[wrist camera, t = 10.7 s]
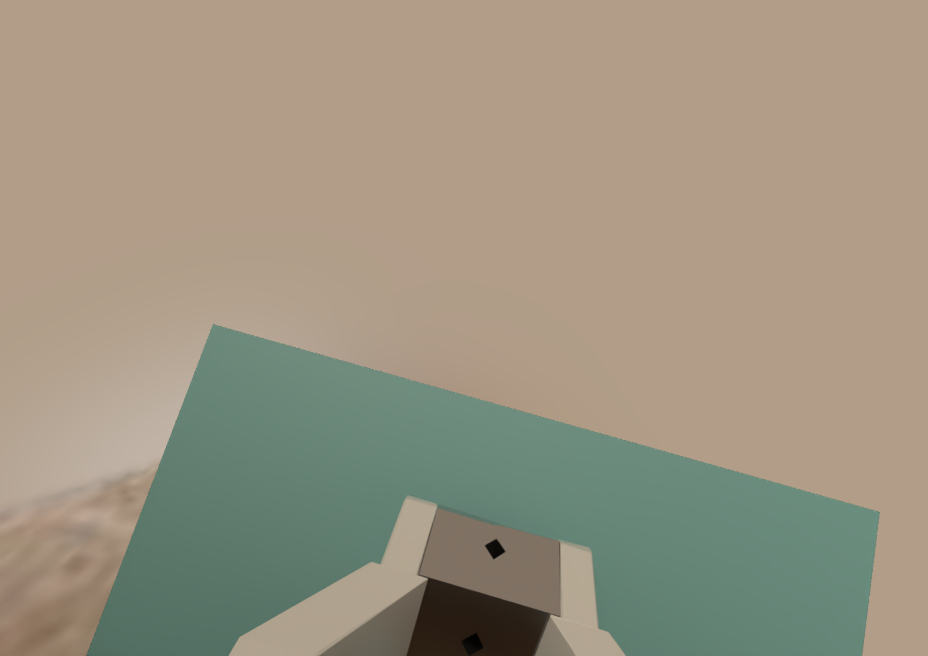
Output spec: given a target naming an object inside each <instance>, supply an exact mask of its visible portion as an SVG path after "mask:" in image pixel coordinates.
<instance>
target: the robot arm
mask: <svg viewBox="0 0 928 656" xmlns="http://www.w3.org/2000/svg"><path fill="white" fill-rule="evenodd" d="M436 509H437V511H436ZM435 513H436V514H435ZM434 516H435V518H434ZM433 520H434V521H433ZM432 524H433V525H432ZM431 527H432V528H431ZM430 531H431V532H430ZM229 656H626V655H625V654H624V652H623V651H622V650H621V648H620V647H619V646H618V644H617V643H616V642H615V640H614V639H613V638H612V636H611V635H610V633H609V632H607V631H603V630H600V629H599V625H598V614H597V602H596V591H595V580H594V569H593V557H592V551H591V550H590V548H589V547H585V546H582V545H578V544H574V543H570V542H566V541H563V540H559V539H558V540H555V539H551V538H548V537H544V536H541V535H537V534H534V533H530V532H527V531H523V530H520V529H516V528H513V527H509V526H506V525H502V524H499V523H497V522H494V521H491V520H487V519H484V518H481V517H478V516H475V515H472V514H468V513H465V512H462V511H459V510H456V509H452V508H449V507H446V506H443V505H440V504H439V505H438V508H437V504H436V503H433V502H429V501H426V500H423V499H419V498H416V497H413V496H409V495H408V496H407V497H406V498H405V500H404V502H403V505H402V508H401V510H400V513H399V516H398V518H397V521H396V524H395V526H394V529H393V532H392V534H391V537H390V540H389V542H388V545H387V548H386V550H385V553H384V556H383V558H382V561H381V564H377V563H374V562H370V563H368V564H366V565H365V566H363V567H361V568H359V569H358V570H356V571H354V572H352V573H351V574H349V575H347V576H345V577H344V578H342V579H340V580H339V581H337V582H335V583H333V584H332V585H330V586H328V587H326V588H325V589H323V590H321V591H319V592H318V593H316V594H314V595H312V596H311V597H309V598H307V599H305V600H304V601H302V602H300V603H298V604H297V605H295V606H293V607H291V608H290V609H288V610H286V611H284V612H283V613H281V614H279V615H277V616H276V617H274V618H272V619H270V620H269V621H267V622H265V623H263V624H262V625H260V626H258V627H256V628H255V629H253V630H251V631H250V632H248V633H246V634H244V635H243V636H241V637H239V639H238V641H237V642H236V644H235V646H234V647H233V649H232V651H231V653H230V654H229Z"/></svg>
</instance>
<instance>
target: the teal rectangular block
mask: <svg viewBox="0 0 928 656" xmlns="http://www.w3.org/2000/svg"><path fill="white" fill-rule="evenodd" d="M408 495H409V496H413V497H416V498H419V499H423V500H426V501H429V502H433V503H436V504H437V508H438V505H439V504H440V505H443V506H446V507H449V508H452V509H456V510H459V511H462V512H465V513H468V514H472V515H475V516H478V517H481V518H484V519H487V520H491V521H494V522H497V523H499V524H502V525H506V526H509V527H513V528H516V529H520V530H523V531H527V532H530V533H534V534H537V535H541V536H544V537H548V538H551V539H555V540H558V539H559V540H563V541H566V542H570V543H574V544H578V545H582V546H585V547H589V548H590V550H591V551H592V557H593V569H594V580H595V591H596V602H597V614H598V625H599V629H600V630H603V631H607V632H609V633H610V635H611V636H612V638H613V639H614V640H615V642H616V643H617V644H618V646H619V647H620V648H621V650H622V651H623V652H624V654H625V655H626V656H862V652H863V644H864V636H865V628H866V620H867V611H868V603H869V595H870V587H871V579H872V571H873V562H874V555H875V546H876V538H877V530H878V521H879V513H880V512H878V511H874V510H871V509H867V508H864V507H860V506H857V505H853V504H849V503H846V502H842V501H839V500H835V499H832V498H828V497H825V496H821V495H818V494H814V493H810V492H806V491H803V490H800V489H796V488H792V487H789V486H786V485H782V484H778V483H775V482H771V481H767V480H764V479H760V478H757V477H753V476H750V475H747V474H743V473H739V472H735V471H732V470H729V469H725V468H722V467H718V466H715V465H711V464H707V463H704V462H700V461H697V460H693V459H690V458H686V457H682V456H679V455H675V454H672V453H668V452H665V451H661V450H658V449H654V448H651V447H647V446H644V445H640V444H636V443H633V442H629V441H626V440H622V439H618V438H615V437H611V436H608V435H604V434H601V433H597V432H594V431H590V430H587V429H583V428H580V427H576V426H572V425H569V424H565V423H562V422H558V421H555V420H551V419H547V418H544V417H541V416H537V415H533V414H530V413H526V412H523V411H519V410H516V409H512V408H509V407H505V406H501V405H498V404H494V403H491V402H487V401H484V400H480V399H476V398H473V397H469V396H466V395H462V394H459V393H455V392H452V391H448V390H445V389H441V388H438V387H434V386H430V385H427V384H423V383H420V382H416V381H412V380H409V379H405V378H402V377H398V376H395V375H391V374H388V373H384V372H381V371H377V370H373V369H370V368H366V367H363V366H359V365H356V364H352V363H349V362H345V361H342V360H338V359H334V358H331V357H327V356H324V355H320V354H317V353H313V352H309V351H306V350H302V349H299V348H295V347H292V346H288V345H285V344H281V343H278V342H274V341H271V340H267V339H263V338H260V337H256V336H253V335H249V334H246V333H242V332H239V331H235V330H232V329H228V328H224V327H221V326H217V325H214V324H213V326H212V329H211V332H210V334H209V336H208V339H207V342H206V344H205V347H204V349H203V352H202V355H201V357H200V360H199V362H198V365H197V368H196V371H195V373H194V376H193V378H192V381H191V383H190V386H189V389H188V391H187V394H186V396H185V399H184V402H183V405H182V407H181V410H180V412H179V415H178V418H177V420H176V423H175V426H174V428H173V431H172V434H171V436H170V438H169V441H168V444H167V446H166V449H165V451H164V454H163V457H162V459H161V462H160V464H159V467H158V470H157V472H156V475H155V478H154V480H153V483H152V485H151V488H150V491H149V493H148V496H147V498H146V501H145V504H144V506H143V509H142V512H141V514H140V517H139V519H138V522H137V525H136V527H135V530H134V532H133V535H132V538H131V540H130V543H129V546H128V548H127V551H126V553H125V556H124V559H123V561H122V564H121V566H120V569H119V572H118V574H117V577H116V580H115V582H114V585H113V587H112V590H111V593H110V595H109V598H108V600H107V603H106V606H105V608H104V611H103V614H102V616H101V619H100V621H99V624H98V627H97V629H96V632H95V634H94V637H93V640H92V642H91V645H90V648H89V650H88V653H87V655H86V656H229V654H230V653H231V651H232V649H233V647H234V646H235V644H236V642H237V641H238V639H239V637H241V636H243V635H244V634H246V633H248V632H250V631H251V630H253V629H255V628H256V627H258V626H260V625H262V624H263V623H265V622H267V621H269V620H270V619H272V618H274V617H276V616H277V615H279V614H281V613H283V612H284V611H286V610H288V609H290V608H291V607H293V606H295V605H297V604H298V603H300V602H302V601H304V600H305V599H307V598H309V597H311V596H312V595H314V594H316V593H318V592H319V591H321V590H323V589H325V588H326V587H328V586H330V585H332V584H333V583H335V582H337V581H339V580H340V579H342V578H344V577H345V576H347V575H349V574H351V573H352V572H354V571H356V570H358V569H359V568H361V567H363V566H365V565H366V564H368V563H370V562H374V563H377V564H381V561H382V558H383V556H384V553H385V550H386V548H387V545H388V542H389V540H390V537H391V534H392V532H393V529H394V526H395V524H396V521H397V518H398V516H399V513H400V510H401V508H402V505H403V502H404V500H405V498H406V497H407V496H408ZM436 511H437V509H436ZM435 514H436V513H435ZM434 518H435V516H434ZM433 521H434V520H433ZM432 525H433V524H432ZM431 528H432V527H431ZM430 532H431V531H430Z"/></svg>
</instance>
